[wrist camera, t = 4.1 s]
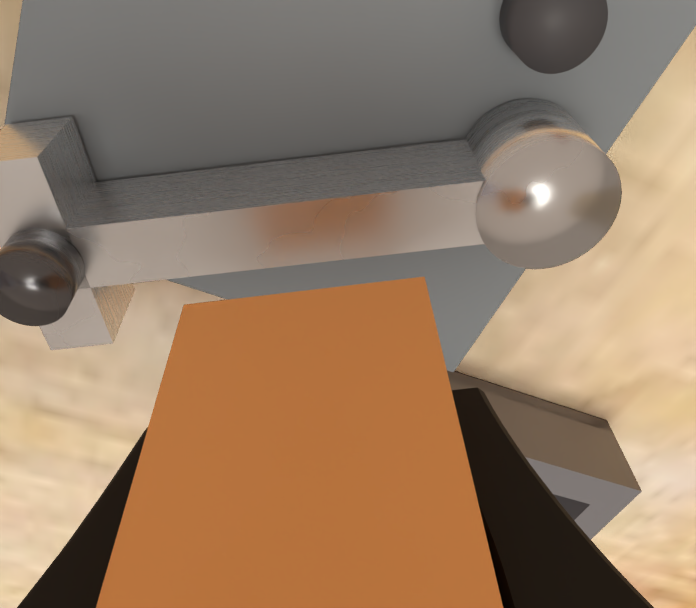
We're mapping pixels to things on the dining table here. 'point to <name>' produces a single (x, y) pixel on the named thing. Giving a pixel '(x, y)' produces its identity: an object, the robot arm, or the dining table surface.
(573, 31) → the crank board
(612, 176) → the crank
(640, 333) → the dining table surface
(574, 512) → the tray
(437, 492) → the block
